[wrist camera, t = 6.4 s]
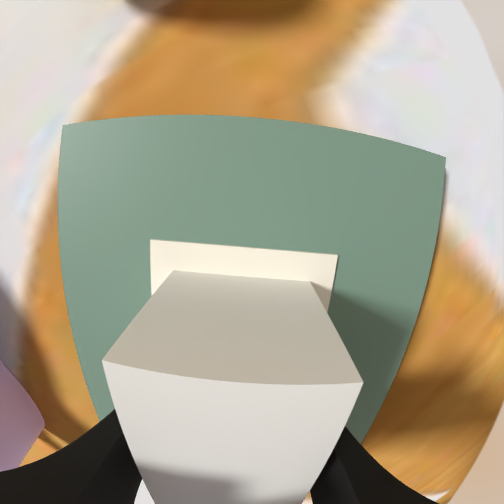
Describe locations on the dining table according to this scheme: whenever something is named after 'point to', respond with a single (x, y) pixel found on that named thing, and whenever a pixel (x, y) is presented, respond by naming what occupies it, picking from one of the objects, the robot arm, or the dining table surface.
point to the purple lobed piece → (16, 421)
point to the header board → (247, 227)
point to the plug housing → (231, 389)
